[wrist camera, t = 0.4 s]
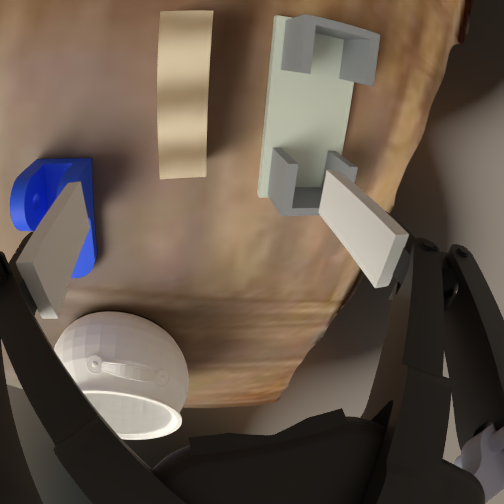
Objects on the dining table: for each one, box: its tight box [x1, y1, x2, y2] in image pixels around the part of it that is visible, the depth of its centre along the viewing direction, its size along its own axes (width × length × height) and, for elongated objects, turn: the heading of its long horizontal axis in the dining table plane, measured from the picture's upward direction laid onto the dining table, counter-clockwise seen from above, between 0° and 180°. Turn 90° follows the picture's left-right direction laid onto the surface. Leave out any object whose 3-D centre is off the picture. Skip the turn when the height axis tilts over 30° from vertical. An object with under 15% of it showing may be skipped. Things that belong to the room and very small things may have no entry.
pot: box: [54, 311, 189, 440], centre depth 47 cm, size 29×26×16 cm
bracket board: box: [257, 14, 380, 216], centre depth 32 cm, size 24×11×7 cm, turn 176°
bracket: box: [10, 158, 97, 278], centre depth 32 cm, size 18×8×9 cm, turn 168°
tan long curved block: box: [157, 11, 213, 179], centre depth 28 cm, size 18×5×6 cm, turn 176°
